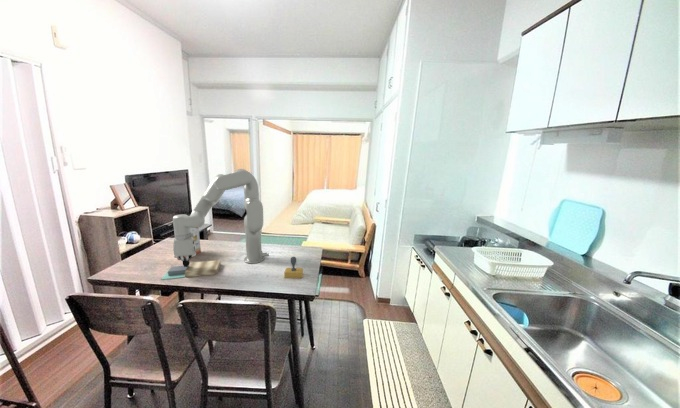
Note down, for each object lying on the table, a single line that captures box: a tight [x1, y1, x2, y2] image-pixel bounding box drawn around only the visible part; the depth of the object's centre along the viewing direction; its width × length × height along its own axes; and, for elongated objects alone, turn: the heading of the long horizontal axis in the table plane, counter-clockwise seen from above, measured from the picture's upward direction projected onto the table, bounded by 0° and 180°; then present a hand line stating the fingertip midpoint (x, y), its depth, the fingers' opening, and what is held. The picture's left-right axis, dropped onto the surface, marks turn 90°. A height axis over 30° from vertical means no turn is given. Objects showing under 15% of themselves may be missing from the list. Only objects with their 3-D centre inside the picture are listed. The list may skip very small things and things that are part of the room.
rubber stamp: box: [283, 256, 304, 279], centre depth 137 cm, size 10×6×12 cm, turn 92°
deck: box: [184, 259, 221, 278], centre depth 141 cm, size 16×12×3 cm
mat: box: [160, 268, 186, 281], centre depth 137 cm, size 11×12×1 cm
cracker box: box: [176, 227, 202, 261], centre depth 157 cm, size 14×6×21 cm, turn 167°
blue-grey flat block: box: [167, 264, 190, 276], centre depth 137 cm, size 9×6×2 cm, turn 108°
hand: (186, 266), depth 137 cm, fingers closed
